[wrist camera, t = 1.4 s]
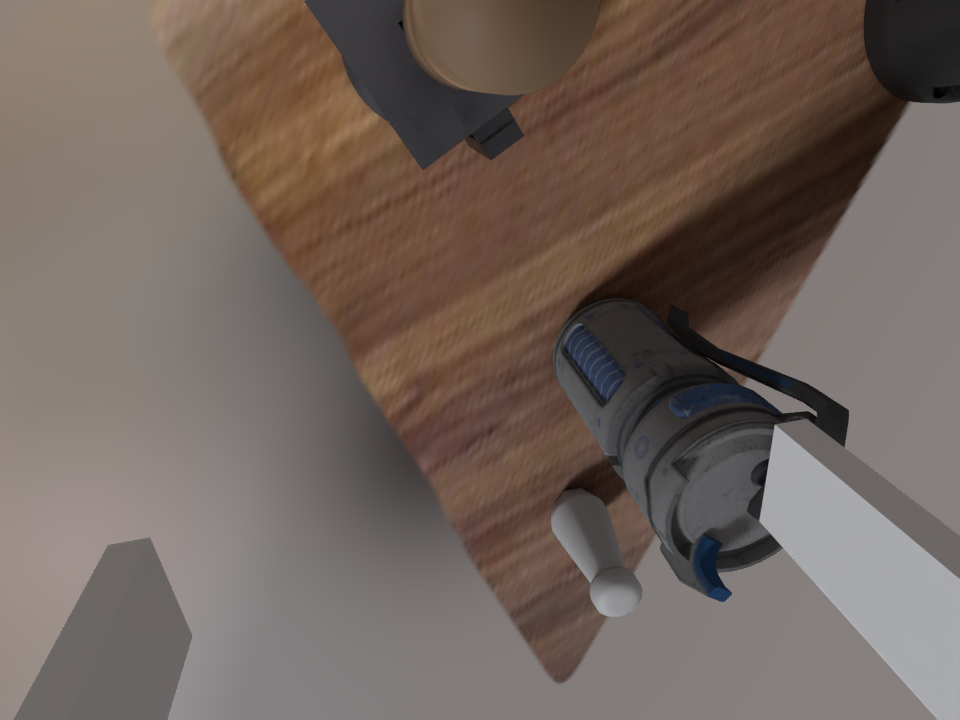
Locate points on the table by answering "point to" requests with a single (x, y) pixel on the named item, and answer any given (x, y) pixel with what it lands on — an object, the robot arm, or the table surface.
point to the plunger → (498, 41)
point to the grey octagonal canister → (412, 84)
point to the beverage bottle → (683, 431)
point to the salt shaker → (595, 551)
